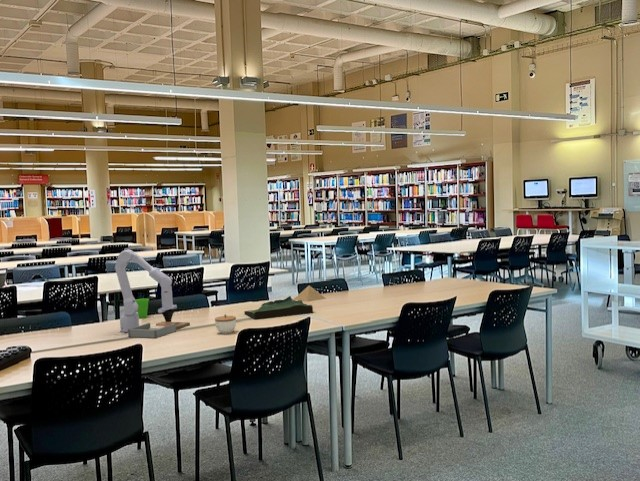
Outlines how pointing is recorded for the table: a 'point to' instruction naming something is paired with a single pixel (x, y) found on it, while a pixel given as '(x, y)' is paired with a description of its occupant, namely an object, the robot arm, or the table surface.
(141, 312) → the cup
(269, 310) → the topographic model
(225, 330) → the lidded jar
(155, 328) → the cream tile
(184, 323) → the walnut board
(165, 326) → the terracotta tile
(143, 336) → the grey box
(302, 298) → the model pyramid
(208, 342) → the table surface
